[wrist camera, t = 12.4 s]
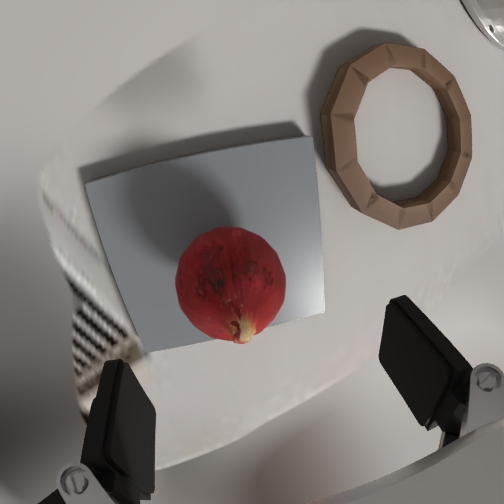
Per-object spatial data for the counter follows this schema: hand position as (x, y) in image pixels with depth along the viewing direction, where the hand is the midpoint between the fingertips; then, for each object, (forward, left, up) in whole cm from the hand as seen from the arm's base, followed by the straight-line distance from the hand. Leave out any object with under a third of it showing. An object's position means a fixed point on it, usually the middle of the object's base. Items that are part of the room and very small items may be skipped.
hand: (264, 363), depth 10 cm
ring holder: (-14, -5, -12) cm, 19 cm away
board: (+1, +1, -12) cm, 12 cm away
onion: (0, 0, -11) cm, 11 cm away
